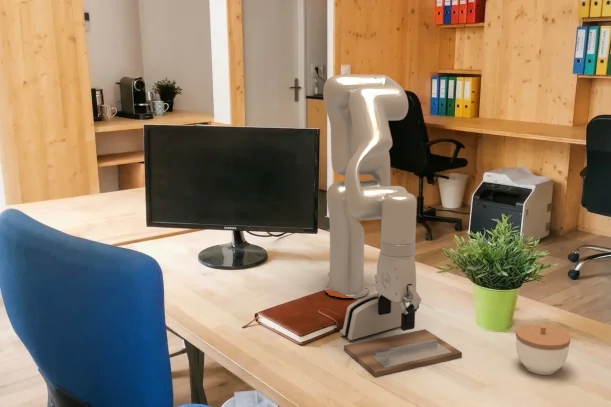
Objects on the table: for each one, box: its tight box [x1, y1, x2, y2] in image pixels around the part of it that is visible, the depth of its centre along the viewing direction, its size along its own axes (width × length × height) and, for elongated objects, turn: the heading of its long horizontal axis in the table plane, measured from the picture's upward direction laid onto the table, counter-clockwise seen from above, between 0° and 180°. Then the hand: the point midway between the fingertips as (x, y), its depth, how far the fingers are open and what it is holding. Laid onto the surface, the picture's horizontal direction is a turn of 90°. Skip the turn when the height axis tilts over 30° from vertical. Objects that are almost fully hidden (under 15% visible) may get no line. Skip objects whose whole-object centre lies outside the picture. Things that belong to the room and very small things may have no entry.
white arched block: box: [339, 293, 404, 341], centre depth 150 cm, size 17×5×10 cm, turn 122°
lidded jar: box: [515, 324, 571, 376], centre depth 132 cm, size 11×11×9 cm
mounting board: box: [343, 328, 463, 378], centre depth 139 cm, size 14×22×1 cm, turn 114°
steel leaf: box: [371, 339, 451, 368], centre depth 136 cm, size 6×17×1 cm, turn 114°
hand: (395, 321), depth 141 cm, fingers open, 9 cm apart
